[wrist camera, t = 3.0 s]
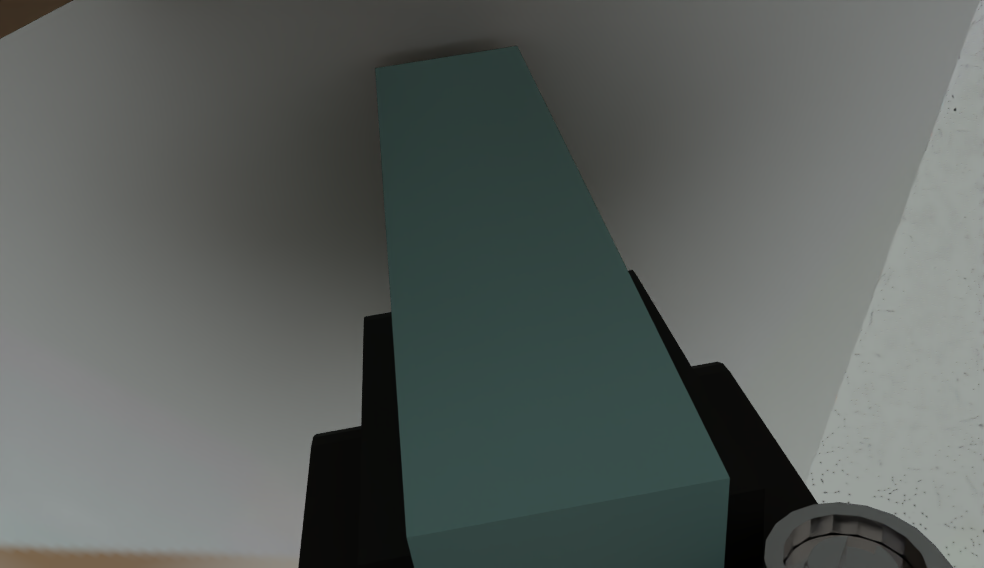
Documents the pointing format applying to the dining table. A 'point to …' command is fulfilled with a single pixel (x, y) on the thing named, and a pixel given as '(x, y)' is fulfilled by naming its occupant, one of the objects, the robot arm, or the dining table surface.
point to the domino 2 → (526, 345)
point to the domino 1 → (24, 12)
